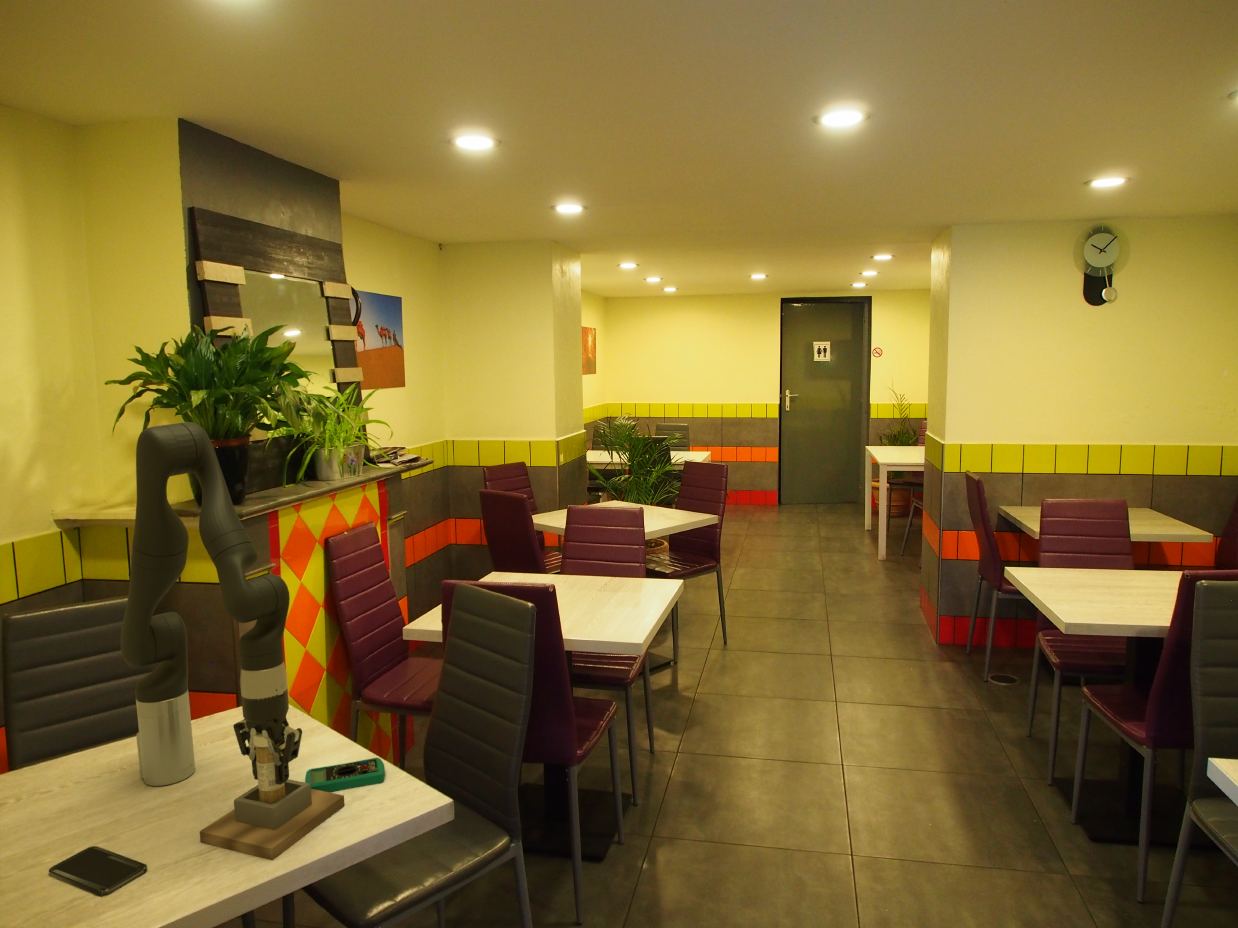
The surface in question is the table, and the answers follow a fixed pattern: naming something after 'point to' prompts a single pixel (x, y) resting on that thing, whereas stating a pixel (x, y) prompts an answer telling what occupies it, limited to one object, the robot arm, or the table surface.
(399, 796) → the table surface
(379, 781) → the digital multimeter
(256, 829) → the socket board
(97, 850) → the phone
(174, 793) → the table surface
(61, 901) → the table surface
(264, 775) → the sprinkles bottle
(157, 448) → the robot arm
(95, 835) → the table surface
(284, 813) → the socket sleeve
